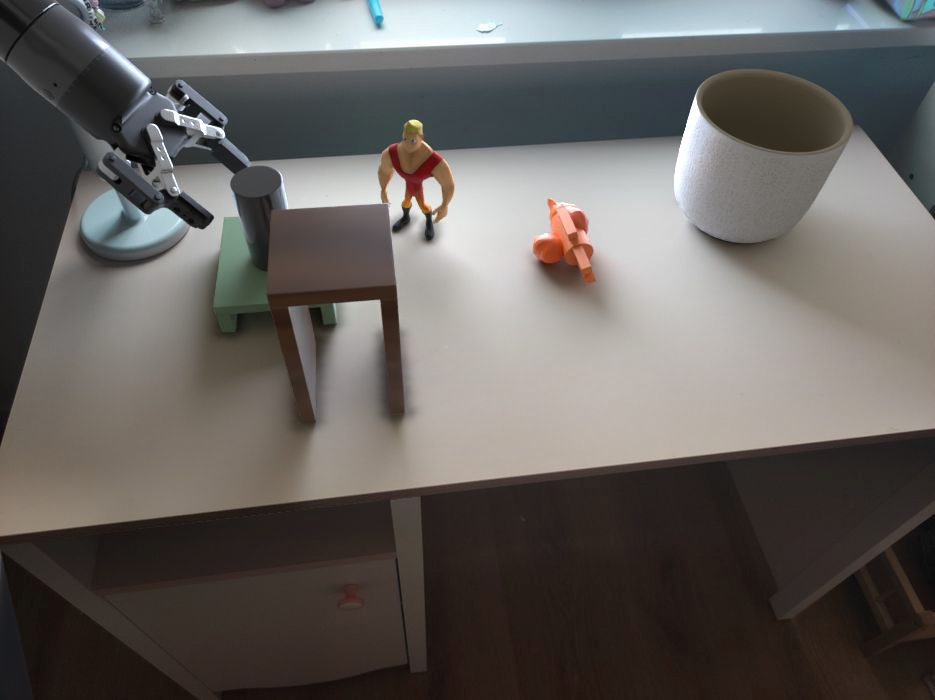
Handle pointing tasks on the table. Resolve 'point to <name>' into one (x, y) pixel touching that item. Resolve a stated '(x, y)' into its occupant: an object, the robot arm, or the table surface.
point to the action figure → (416, 174)
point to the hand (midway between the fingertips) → (228, 197)
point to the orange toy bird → (566, 239)
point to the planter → (757, 153)
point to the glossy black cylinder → (258, 207)
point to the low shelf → (244, 281)
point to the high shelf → (331, 286)
